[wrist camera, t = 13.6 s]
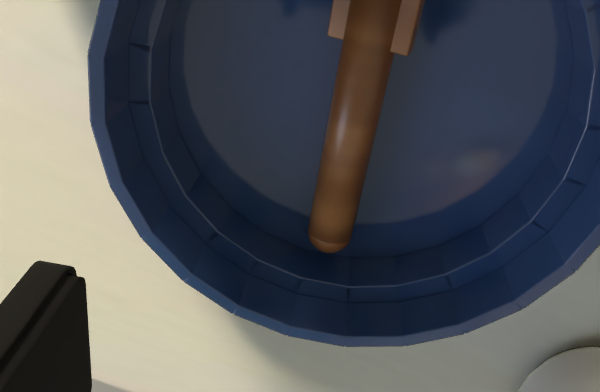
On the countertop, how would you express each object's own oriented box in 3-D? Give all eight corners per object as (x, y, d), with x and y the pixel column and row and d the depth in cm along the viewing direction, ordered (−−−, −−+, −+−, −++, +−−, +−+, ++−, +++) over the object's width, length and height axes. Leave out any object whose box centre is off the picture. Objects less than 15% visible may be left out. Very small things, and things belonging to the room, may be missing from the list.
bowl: (140, -228, 19) (74, -257, 15) (705, -130, 19) (803, -131, 15) (137, 236, 29) (96, 300, 25) (512, 306, 29) (538, 383, 24)
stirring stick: (357, -80, 21) (340, -79, 19) (444, -64, 20) (433, -61, 18) (302, 227, 28) (286, 247, 26) (365, 249, 27) (352, 272, 25)
